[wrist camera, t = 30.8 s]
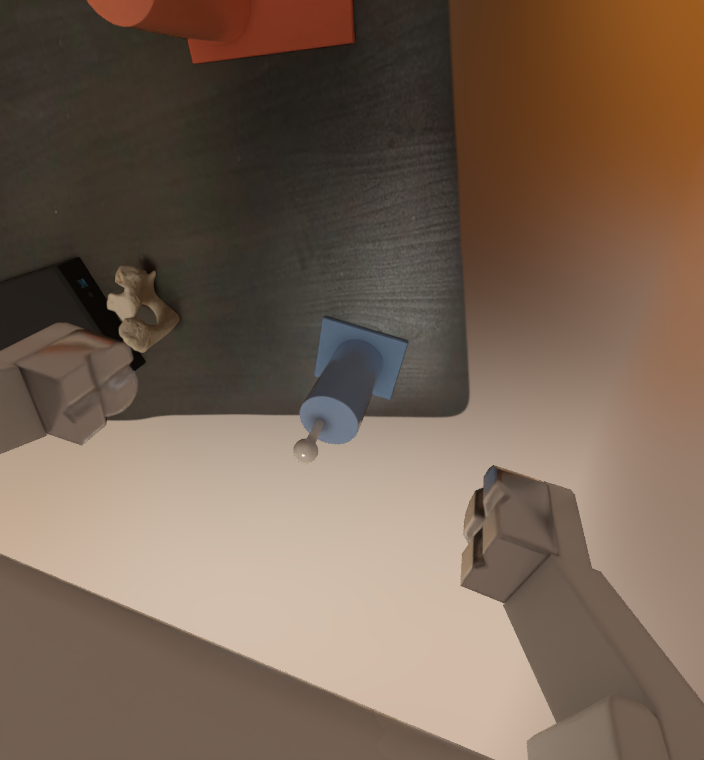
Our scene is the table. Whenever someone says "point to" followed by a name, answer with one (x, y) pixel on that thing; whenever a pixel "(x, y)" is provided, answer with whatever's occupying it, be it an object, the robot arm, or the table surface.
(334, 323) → the blue mat
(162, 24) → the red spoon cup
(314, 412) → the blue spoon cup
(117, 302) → the bone
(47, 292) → the external hard drive
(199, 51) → the red mat
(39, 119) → the table surface
